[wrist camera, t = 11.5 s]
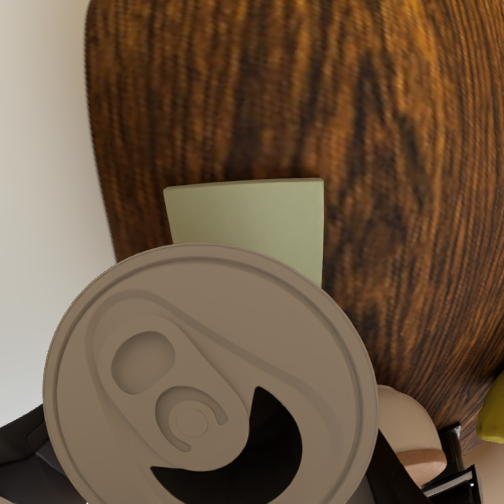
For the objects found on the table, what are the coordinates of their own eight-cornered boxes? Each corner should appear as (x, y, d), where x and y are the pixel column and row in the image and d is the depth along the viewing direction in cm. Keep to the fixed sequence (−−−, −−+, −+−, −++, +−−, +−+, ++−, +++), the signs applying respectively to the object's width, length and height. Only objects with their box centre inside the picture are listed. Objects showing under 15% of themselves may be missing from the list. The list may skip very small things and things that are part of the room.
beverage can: (236, 464, 12) (190, 607, 1) (160, 381, 14) (-10, 356, 4) (322, 390, 14) (467, 400, 3) (244, 311, 16) (214, 161, 5)
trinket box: (267, 403, 20) (254, 515, 11) (396, 341, 15) (433, 477, 7) (337, 443, 23) (339, 525, 14) (437, 398, 18) (460, 487, 10)
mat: (315, 346, 16) (316, 353, 16) (202, 344, 17) (200, 351, 17) (322, 177, 12) (323, 180, 11) (167, 186, 13) (162, 190, 12)
